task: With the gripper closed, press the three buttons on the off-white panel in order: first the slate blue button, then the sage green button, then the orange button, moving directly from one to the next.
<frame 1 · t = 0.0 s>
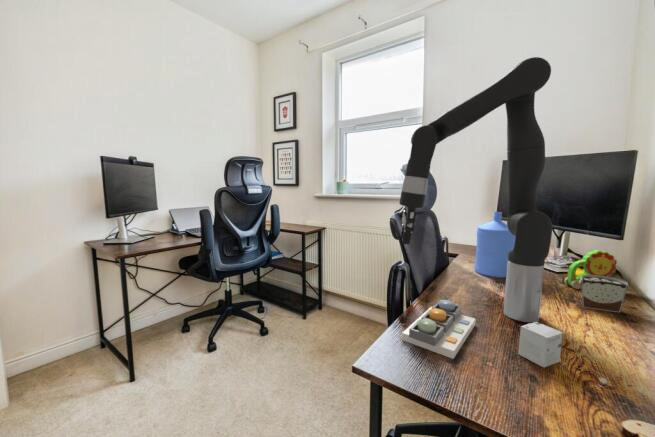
hand: (404, 241, 94), 22 cm above the table, tool pointing down, fingers open, 8 cm apart
sage green button: (426, 326, 75), point 5 cm above the table, slide at 0.0 cm
water jug: (493, 273, 133), on the table
toy lion: (589, 288, 114), on the table
skincare box: (538, 358, 69), on the table
orange button: (437, 315, 81), point 5 cm above the table, slide at 0.0 cm
button panel: (440, 332, 81), on the table
food container: (596, 306, 98), on the table
slate blue button: (446, 305, 87), point 5 cm above the table, slide at 0.0 cm
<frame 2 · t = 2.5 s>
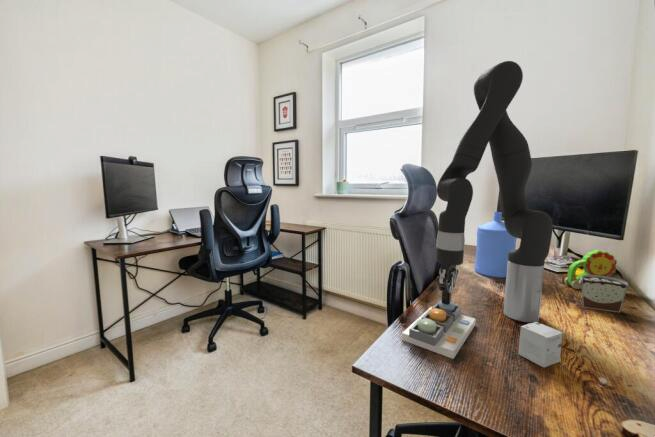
hand: (445, 303, 87), 5 cm above the table, tool pointing down, fingers closed
slate blue button: (446, 306, 87), point 4 cm above the table, slide at 0.1 cm, touching gripper
everything else where it was.
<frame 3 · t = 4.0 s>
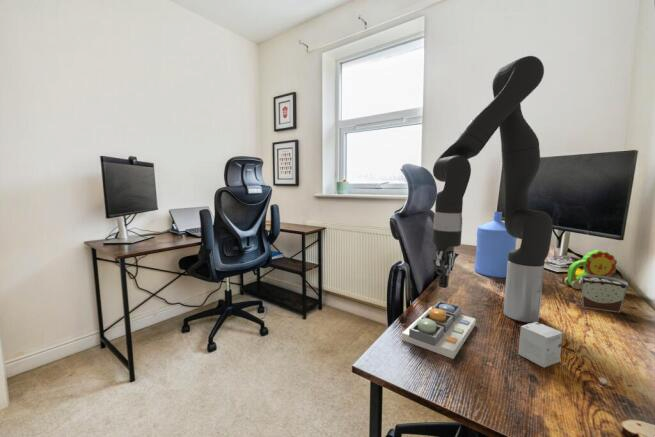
hand: (443, 286, 84), 11 cm above the table, tool pointing down, fingers closed
slate blue button: (446, 310, 87), point 3 cm above the table, slide at 1.4 cm
everything else where it was.
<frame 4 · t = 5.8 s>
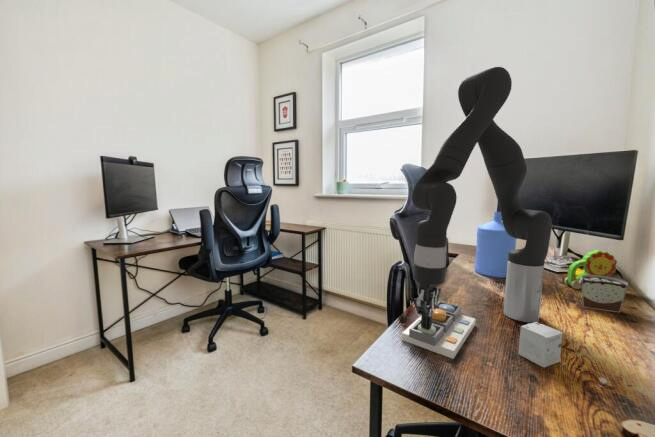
hand: (426, 327, 75), 4 cm above the table, tool pointing down, fingers closed
sage green button: (426, 331, 75), point 3 cm above the table, slide at 1.3 cm, touching gripper
everything else where it was.
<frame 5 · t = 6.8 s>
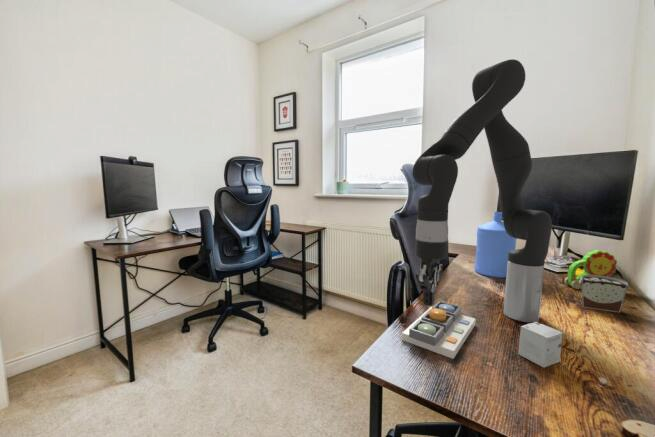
hand: (428, 304, 74), 11 cm above the table, tool pointing down, fingers closed
sage green button: (426, 331, 75), point 3 cm above the table, slide at 1.4 cm
everything else where it was.
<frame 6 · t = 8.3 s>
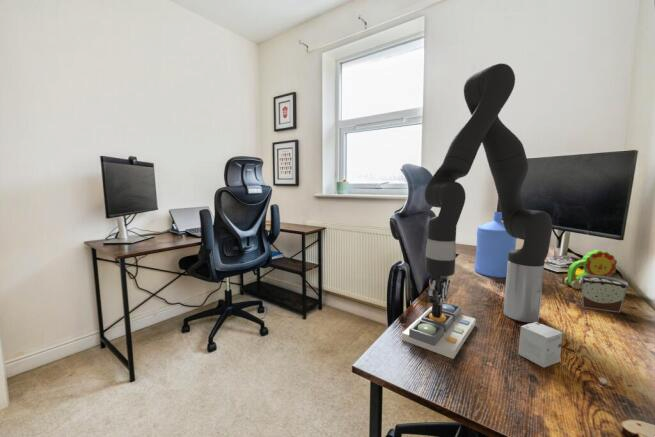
hand: (436, 316, 81), 4 cm above the table, tool pointing down, fingers closed
orange button: (437, 319, 81), point 3 cm above the table, slide at 1.2 cm, touching gripper
everything else where it was.
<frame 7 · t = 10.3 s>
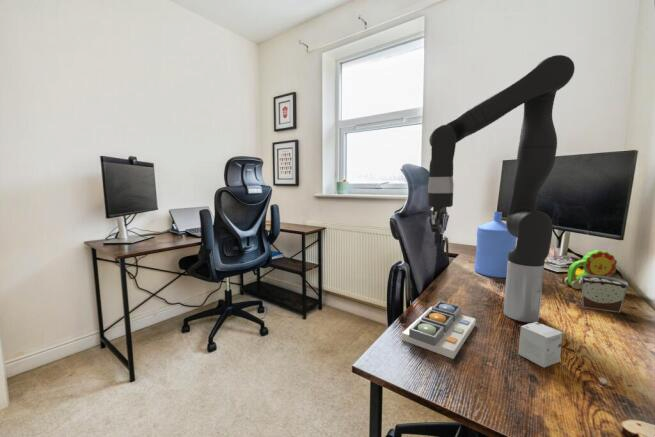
hand: (438, 245, 94), 21 cm above the table, tool pointing down, fingers closed
orange button: (437, 320, 81), point 3 cm above the table, slide at 1.4 cm
everything else where it was.
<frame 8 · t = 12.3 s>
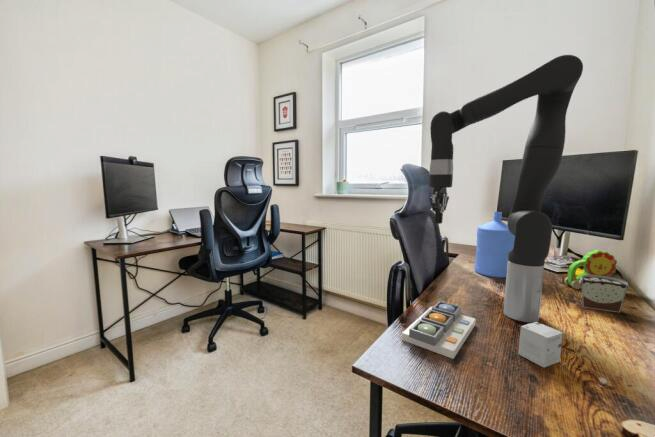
hand: (438, 223, 102), 27 cm above the table, tool pointing down, fingers closed
nothing on the table moved.
at the end: slate blue button slide at 1.4 cm; sage green button slide at 1.4 cm; orange button slide at 1.4 cm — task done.
